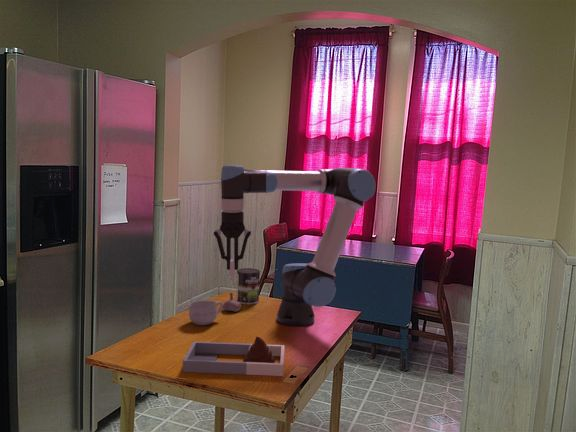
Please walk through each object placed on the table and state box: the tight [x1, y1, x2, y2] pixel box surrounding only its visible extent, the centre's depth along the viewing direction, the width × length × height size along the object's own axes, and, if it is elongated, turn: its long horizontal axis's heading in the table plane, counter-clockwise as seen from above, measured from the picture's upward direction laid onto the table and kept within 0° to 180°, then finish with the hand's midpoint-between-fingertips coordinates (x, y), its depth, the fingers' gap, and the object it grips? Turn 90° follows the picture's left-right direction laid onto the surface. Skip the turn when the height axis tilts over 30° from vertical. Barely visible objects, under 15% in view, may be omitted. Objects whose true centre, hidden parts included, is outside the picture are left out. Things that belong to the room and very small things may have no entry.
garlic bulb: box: [222, 291, 242, 313], centre depth 215 cm, size 8×7×8 cm
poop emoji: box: [242, 336, 276, 363], centre depth 160 cm, size 10×8×9 cm
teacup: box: [188, 299, 224, 326], centre depth 198 cm, size 14×11×8 cm
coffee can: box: [235, 267, 261, 305], centre depth 229 cm, size 10×10×14 cm
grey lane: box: [182, 341, 252, 376], centre depth 161 cm, size 19×16×4 cm
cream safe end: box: [246, 343, 285, 377], centre depth 161 cm, size 11×16×4 cm
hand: (232, 278), depth 177 cm, fingers closed
